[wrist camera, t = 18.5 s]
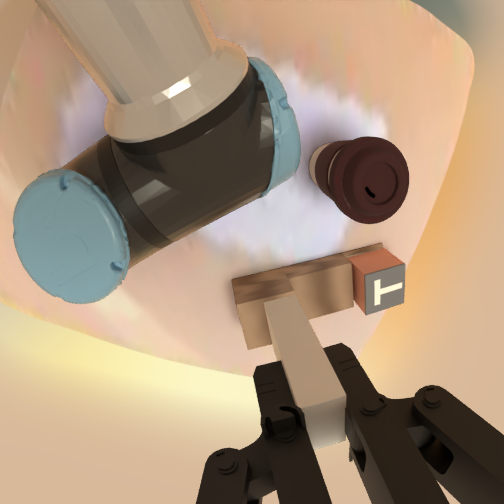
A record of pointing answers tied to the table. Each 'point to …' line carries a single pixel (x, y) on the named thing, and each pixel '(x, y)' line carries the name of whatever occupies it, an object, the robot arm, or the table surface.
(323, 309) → the stair
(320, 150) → the coffee cup
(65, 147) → the table surface
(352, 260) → the block
